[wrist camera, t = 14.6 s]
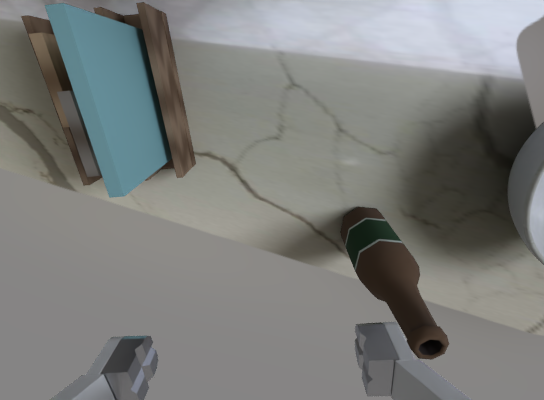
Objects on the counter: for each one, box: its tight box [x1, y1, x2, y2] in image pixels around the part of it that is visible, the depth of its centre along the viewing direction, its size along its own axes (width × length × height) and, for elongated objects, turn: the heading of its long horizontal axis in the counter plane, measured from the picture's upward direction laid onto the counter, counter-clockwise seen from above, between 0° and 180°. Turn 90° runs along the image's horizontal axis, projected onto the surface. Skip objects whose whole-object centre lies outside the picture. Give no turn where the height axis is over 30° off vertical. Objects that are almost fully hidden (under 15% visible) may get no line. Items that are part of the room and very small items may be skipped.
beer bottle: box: [341, 207, 449, 359], centre depth 38 cm, size 8×8×24 cm
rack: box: [21, 2, 196, 185], centre depth 39 cm, size 20×14×6 cm
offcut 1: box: [29, 33, 73, 128], centre depth 36 cm, size 10×2×6 cm, turn 5°
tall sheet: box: [45, 3, 172, 197], centre depth 33 cm, size 16×2×16 cm, turn 5°
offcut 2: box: [57, 90, 102, 177], centre depth 38 cm, size 10×2×8 cm, turn 5°
